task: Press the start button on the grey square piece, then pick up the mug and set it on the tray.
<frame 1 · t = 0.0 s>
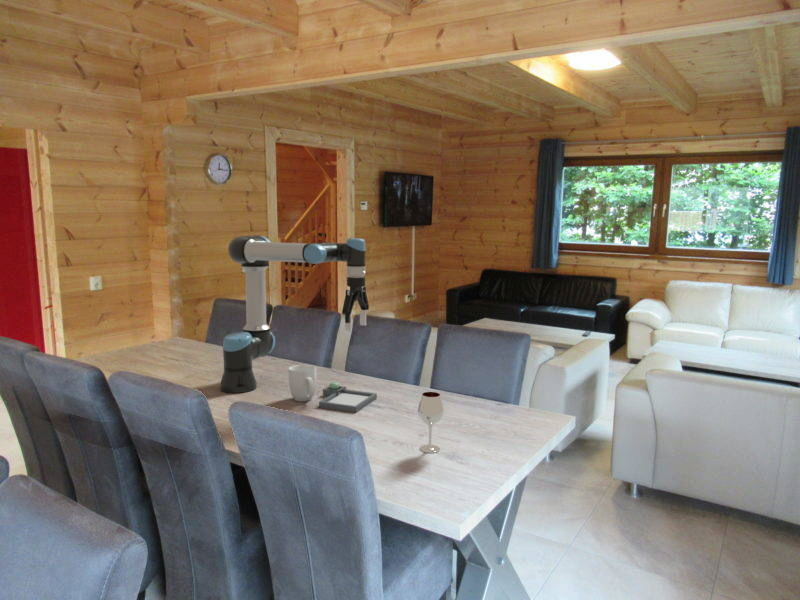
hand: (355, 327, 240), 28 cm above the table, fingers open, 13 cm apart
wineglass: (429, 449, 186), on the table
start button: (334, 386, 241), point 4 cm above the table, slide at 0.0 cm
grey square piece: (334, 395, 242), on the table
mug: (303, 400, 235), on the table
tray: (348, 402, 232), on the table
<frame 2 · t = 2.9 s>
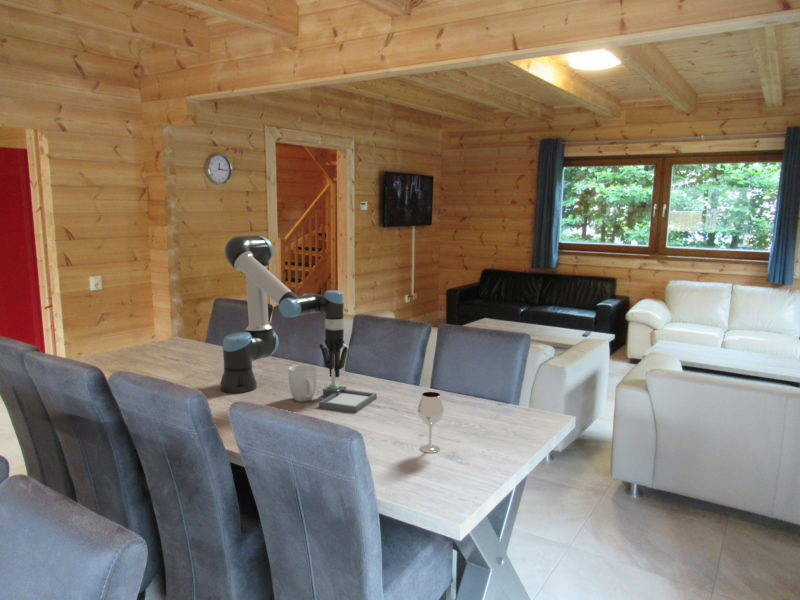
hand: (334, 384, 241), 4 cm above the table, fingers closed
start button: (334, 387, 241), point 3 cm above the table, slide at -0.8 cm, touching gripper
everything else where it was.
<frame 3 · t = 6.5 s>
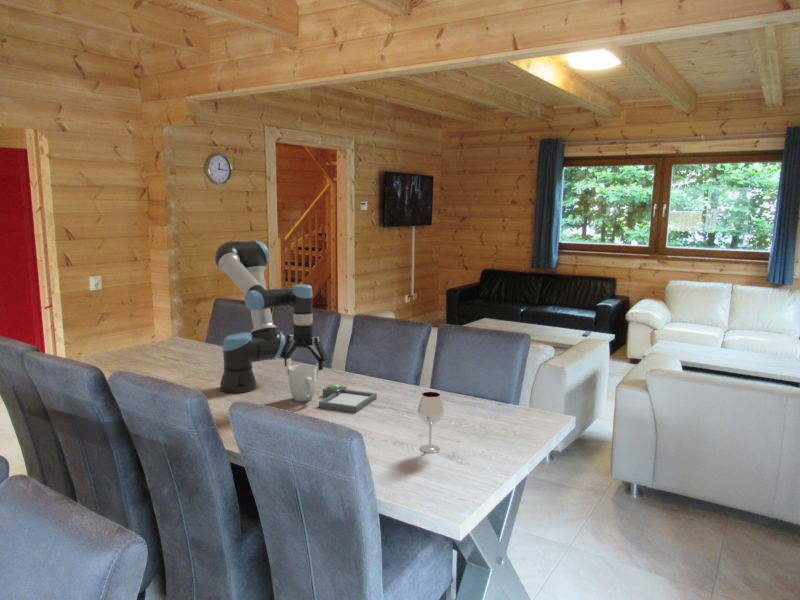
hand: (303, 376, 233), 10 cm above the table, fingers open, 13 cm apart
start button: (334, 387, 241), point 3 cm above the table, slide at -0.8 cm
mug: (303, 400, 235), on the table, touching gripper
everything else where it was.
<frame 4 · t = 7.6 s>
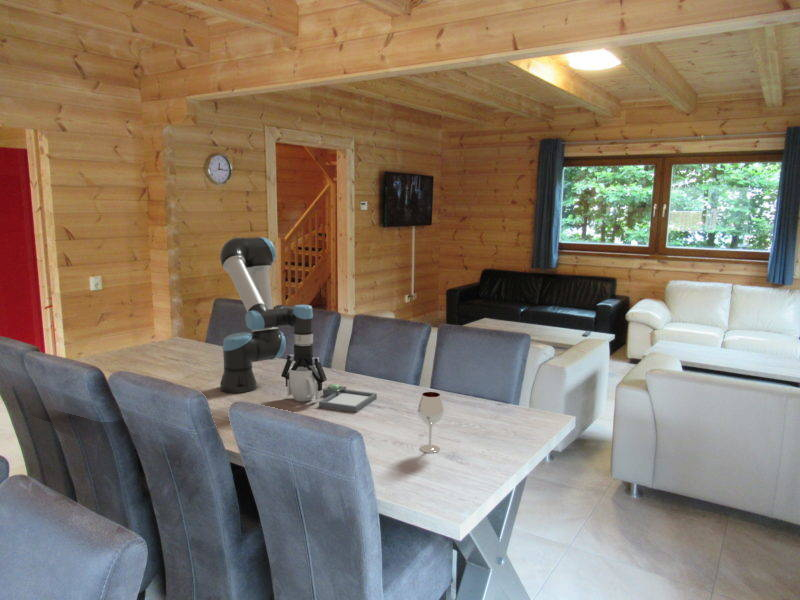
hand: (303, 396, 234), 1 cm above the table, fingers closed on mug, 12 cm apart
mug: (304, 400, 235), on the table, touching gripper
everything else where it was.
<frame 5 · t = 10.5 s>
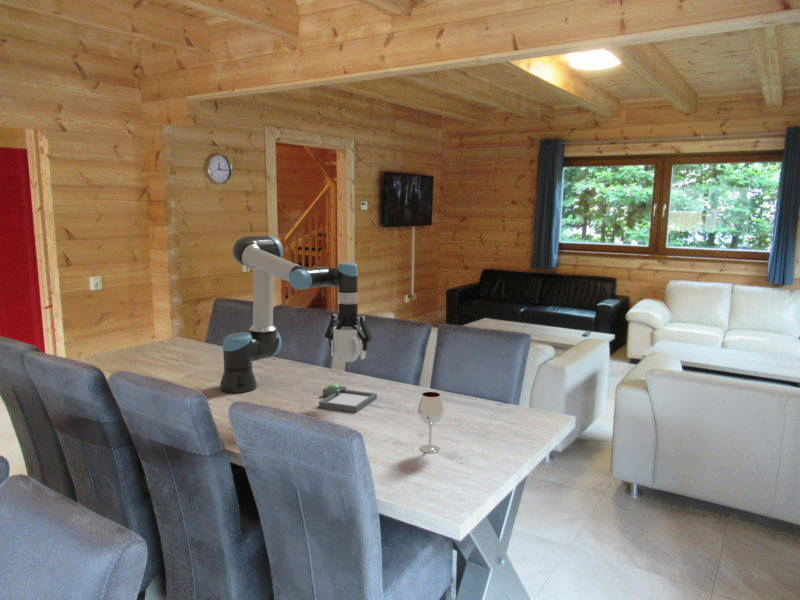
hand: (348, 357, 229), 19 cm above the table, fingers closed on mug, 12 cm apart
mug: (348, 361, 229), point 17 cm above the table, touching gripper
everything else where it was.
when the fingers open (5 cm above the table, at t = 13.7 s): mug drops 2 cm, resting on tray.
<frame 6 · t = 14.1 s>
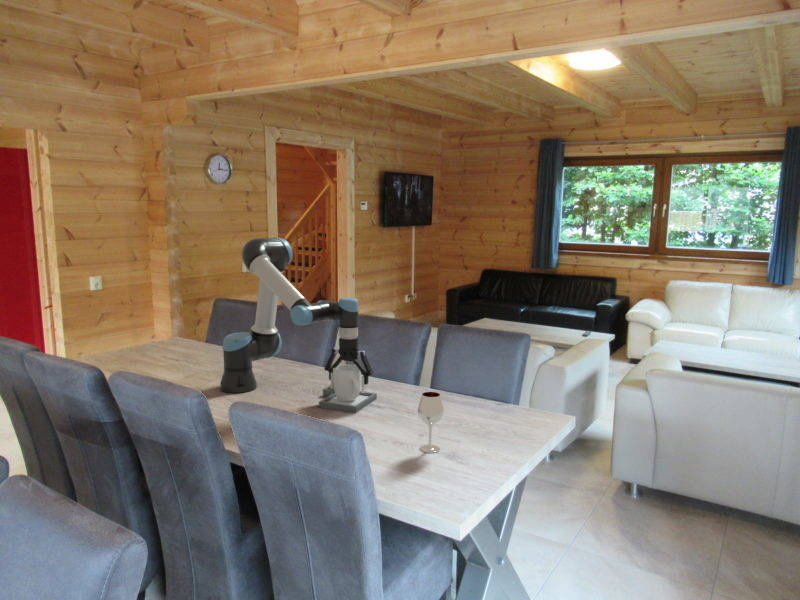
hand: (348, 390, 231), 5 cm above the table, fingers open, 13 cm apart
mug: (348, 400, 232), point 1 cm above the table, touching gripper, tray
everything else where it was.
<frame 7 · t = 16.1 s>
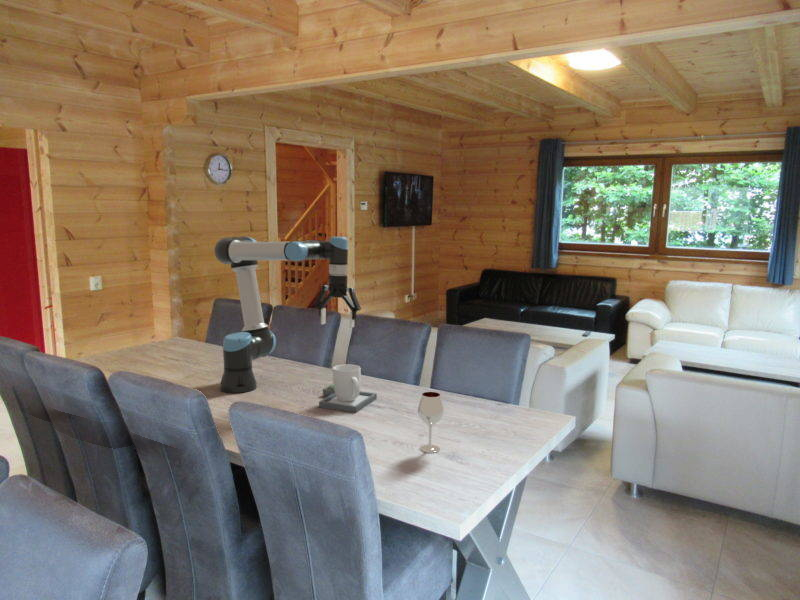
hand: (337, 325, 242), 29 cm above the table, fingers open, 13 cm apart
mug: (348, 400, 232), point 1 cm above the table, touching tray
everything else where it was.
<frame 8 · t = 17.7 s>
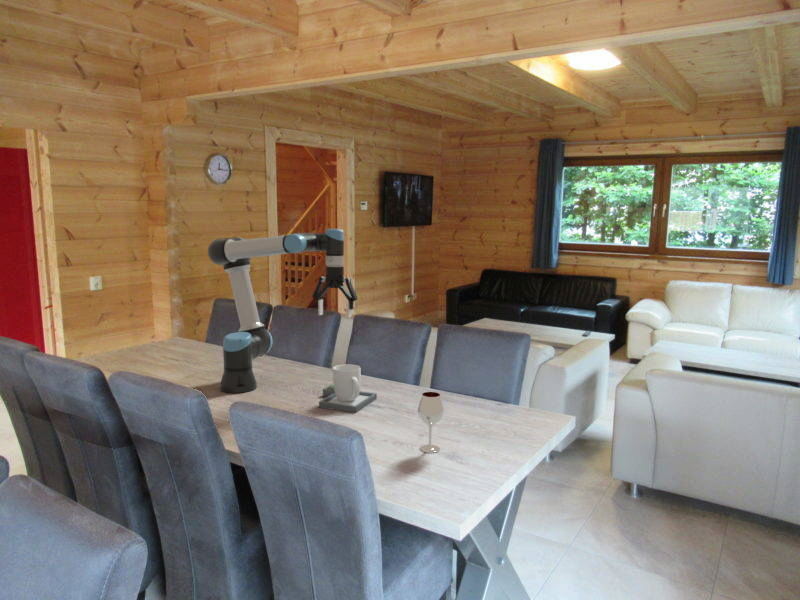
hand: (334, 316, 246), 32 cm above the table, fingers open, 13 cm apart
nothing on the table moved.
at the end: mug inside the target area on the tray (0.2 cm from its centre), point 0.9 cm above the tray's base; mug tilted 0°; start button slide at -0.8 cm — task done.
